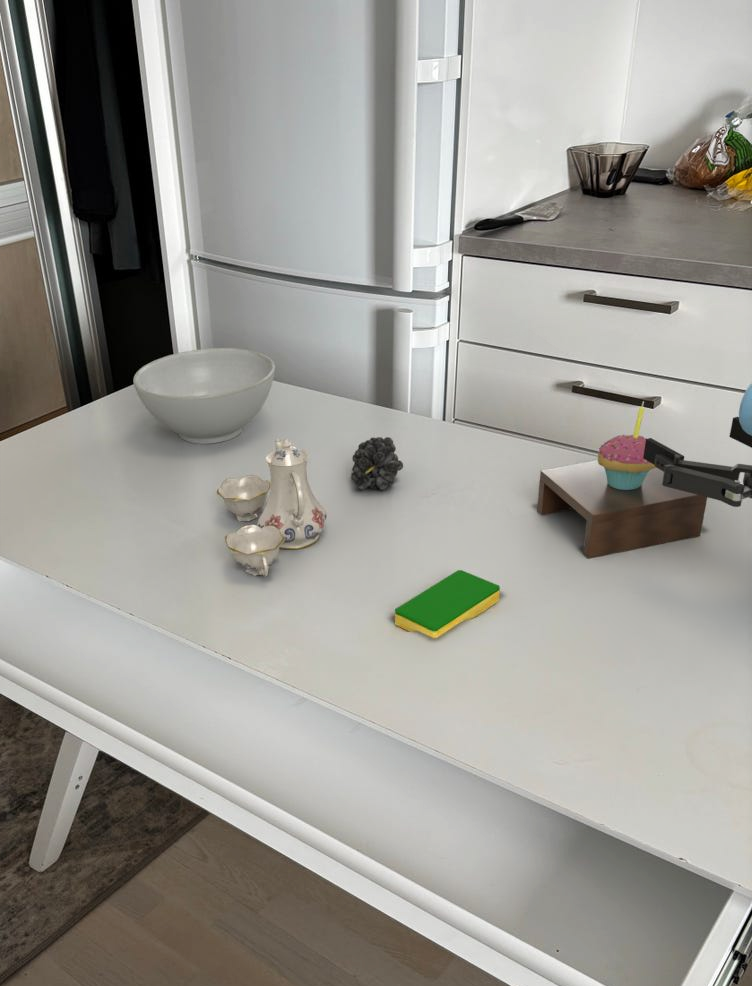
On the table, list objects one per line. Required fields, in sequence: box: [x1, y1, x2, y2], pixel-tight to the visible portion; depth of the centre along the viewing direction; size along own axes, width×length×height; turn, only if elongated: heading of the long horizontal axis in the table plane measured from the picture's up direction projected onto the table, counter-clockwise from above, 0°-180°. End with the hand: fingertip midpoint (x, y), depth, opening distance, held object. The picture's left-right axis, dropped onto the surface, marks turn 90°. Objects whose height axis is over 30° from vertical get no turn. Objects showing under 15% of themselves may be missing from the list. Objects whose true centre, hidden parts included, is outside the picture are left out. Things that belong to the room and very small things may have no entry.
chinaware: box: [216, 438, 327, 577], centre depth 149 cm, size 28×17×17 cm, turn 12°
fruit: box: [350, 436, 404, 491], centre depth 166 cm, size 9×8×15 cm
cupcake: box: [597, 400, 656, 490], centre depth 141 cm, size 9×8×12 cm
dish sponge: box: [394, 569, 501, 639], centre depth 132 cm, size 7×14×2 cm, turn 132°
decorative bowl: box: [132, 347, 276, 445], centre depth 188 cm, size 27×27×12 cm
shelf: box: [536, 459, 708, 559], centre depth 147 cm, size 18×16×7 cm
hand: (690, 437), depth 129 cm, fingers open, 13 cm apart
